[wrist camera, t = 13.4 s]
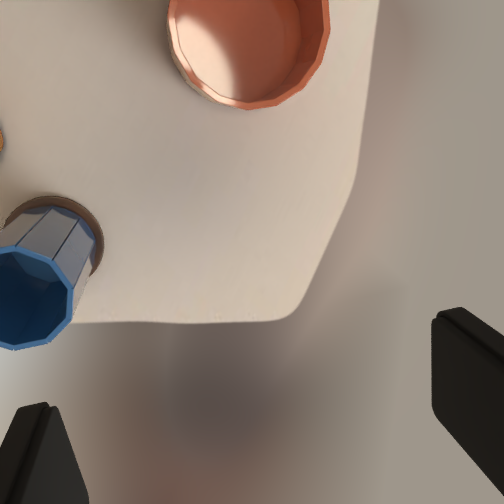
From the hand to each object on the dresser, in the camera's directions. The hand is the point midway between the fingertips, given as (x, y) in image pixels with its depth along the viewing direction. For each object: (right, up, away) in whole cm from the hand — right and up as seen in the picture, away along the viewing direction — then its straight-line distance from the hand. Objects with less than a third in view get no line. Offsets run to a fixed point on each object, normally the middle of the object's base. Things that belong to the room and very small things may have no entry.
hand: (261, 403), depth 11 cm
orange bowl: (-1, +21, +25) cm, 33 cm away
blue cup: (-17, +4, +27) cm, 32 cm away
